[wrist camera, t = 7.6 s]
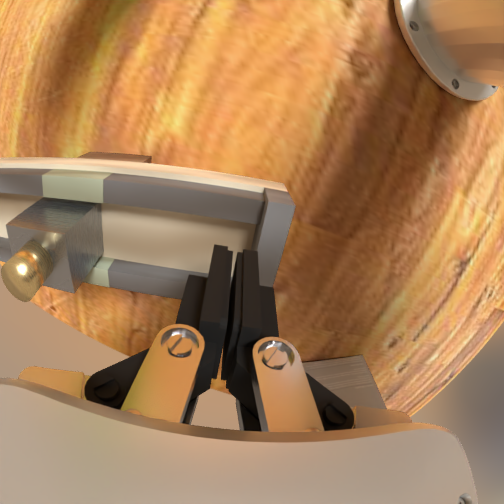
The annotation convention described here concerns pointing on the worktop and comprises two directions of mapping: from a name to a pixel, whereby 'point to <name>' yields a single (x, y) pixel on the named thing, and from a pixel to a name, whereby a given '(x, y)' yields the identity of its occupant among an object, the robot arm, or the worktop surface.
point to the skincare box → (347, 380)
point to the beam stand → (155, 216)
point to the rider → (52, 246)
